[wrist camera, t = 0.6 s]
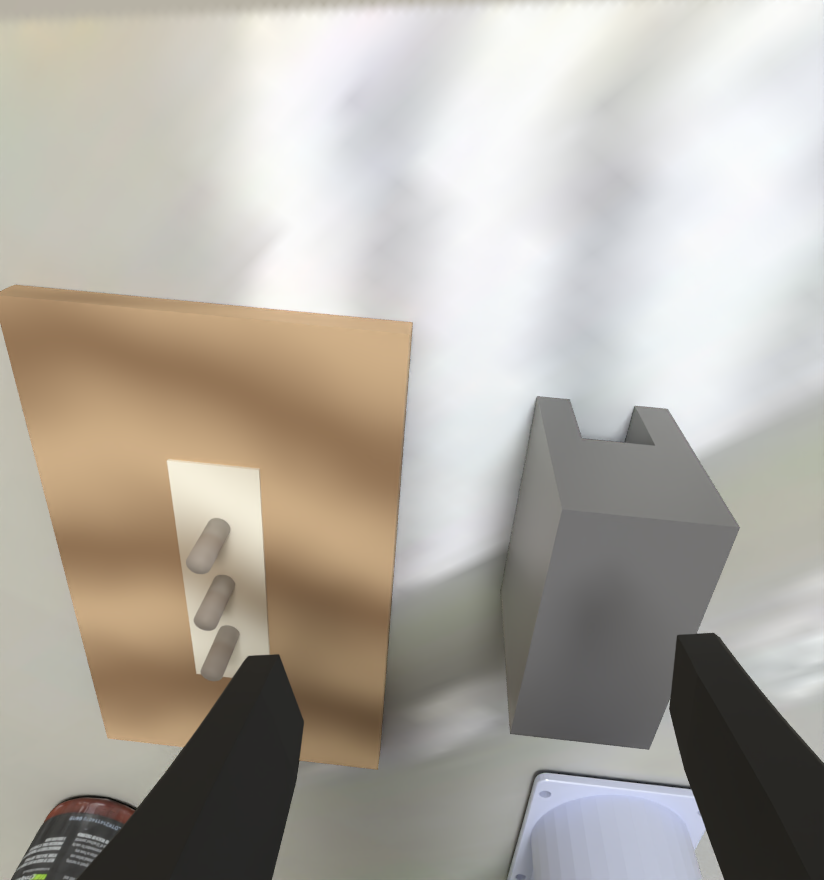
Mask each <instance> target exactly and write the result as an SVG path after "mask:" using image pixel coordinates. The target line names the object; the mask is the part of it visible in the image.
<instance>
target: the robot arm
mask: <svg viewBox="0 0 824 880" xmlns="http://www.w3.org/2000/svg"><path fill="white" fill-rule="evenodd" d="M669 710H670V714H671V718H672V722H673V726H674V730H675V735H676V739H677V743H678V747H679V750H680V754H681V758H682V762H683V766H684V770H685V773H686V775H687V778H688V781H689V784H690V787H691V789H684V788H676V787H667V786H658V785H650V784H641V783H632V782H623V781H615V780H606V779H597V778H589V777H580V776H571V775H563V774H554V773H541V774H539V775H537V776H536V778H535V781H534V784H533V788H532V791H531V795H530V799H529V802H528V806H527V810H526V813H525V817H524V820H523V824H522V828H521V831H520V835H519V838H518V842H517V846H516V849H515V853H514V856H513V860H512V864H511V867H510V871H509V874H508V878H507V880H703V878H702V875H701V871H700V868H699V864H698V861H697V858H696V854H695V849H696V847H697V845H698V843H699V841H700V840H701V838H702V836H703V834H704V832H705V830H706V831H707V834H708V836H709V839H710V842H711V845H712V847H713V850H714V853H715V855H716V858H717V861H718V864H719V866H720V869H721V872H722V875H723V877H724V880H824V763H823V762H822V761H821V760H820V759H819V757H818V756H817V755H816V754H815V753H814V752H813V751H812V750H811V748H810V747H809V746H808V745H807V744H806V743H805V742H804V740H803V739H802V738H801V737H800V736H799V735H798V734H797V733H796V731H795V730H794V729H793V728H792V727H791V726H790V725H789V724H788V722H787V721H786V720H785V719H784V718H783V717H782V715H781V714H780V713H779V712H778V711H777V709H776V708H775V707H774V706H773V705H772V703H771V702H770V701H769V700H768V699H767V697H766V696H765V695H764V694H763V692H762V691H761V690H760V689H759V688H758V686H757V685H756V684H755V683H754V681H753V680H752V679H751V678H750V676H749V675H748V674H747V673H746V671H745V670H744V669H743V668H742V666H741V665H740V664H739V662H738V661H737V660H736V659H735V657H734V656H733V655H732V653H731V652H730V651H729V649H728V648H727V647H726V645H725V644H724V643H723V641H722V640H721V639H720V637H718V636H717V635H716V634H714V633H703V634H683V635H677V640H676V650H675V659H674V669H673V678H672V688H671V698H670V707H669ZM303 727H304V720H303V717H302V715H301V712H300V709H299V706H298V704H297V701H296V698H295V696H294V693H293V690H292V688H291V685H290V682H289V680H288V677H287V674H286V671H285V669H284V666H283V663H282V661H281V658H280V655H279V654H274V655H253V656H248V657H247V658H246V659H245V660H244V661H243V663H242V664H241V666H240V667H239V669H238V670H237V672H236V673H235V675H234V676H233V678H232V679H231V680H230V682H229V683H228V685H227V686H226V688H225V689H224V691H223V692H222V694H221V695H220V697H219V698H218V700H217V701H216V703H215V704H214V705H213V707H212V708H211V710H210V711H209V713H208V714H207V716H206V717H205V718H204V720H203V721H202V723H201V724H200V726H199V727H198V728H197V730H196V731H195V733H194V734H193V735H192V737H191V738H190V739H189V741H188V742H187V744H186V745H185V746H184V748H183V749H182V750H181V752H180V753H179V755H178V756H177V757H176V759H175V760H174V762H173V763H172V764H171V766H170V767H169V768H168V770H167V771H166V772H165V774H164V775H163V776H162V777H161V779H160V780H159V781H158V782H157V784H156V785H155V786H154V788H153V789H152V790H151V791H150V793H149V794H148V795H147V796H146V798H145V799H144V800H143V802H142V803H141V804H140V805H139V807H138V808H137V809H136V810H135V812H134V813H133V814H132V815H131V817H130V818H129V819H128V820H127V822H126V823H125V824H124V825H123V826H122V828H121V829H120V830H119V831H118V832H117V833H116V835H115V836H114V837H113V838H112V839H111V841H110V842H109V843H108V844H107V845H106V846H105V848H104V849H103V850H102V851H101V852H100V853H99V854H98V855H97V857H96V858H95V859H94V860H93V861H92V862H91V863H90V864H89V866H88V867H87V868H86V869H85V870H84V871H83V872H82V873H81V874H80V876H79V877H78V878H77V879H76V880H272V877H273V873H274V869H275V865H276V861H277V857H278V853H279V849H280V845H281V841H282V837H283V833H284V829H285V825H286V821H287V817H288V813H289V808H290V804H291V800H292V796H293V792H294V788H295V783H296V779H297V773H298V766H299V759H300V752H301V744H302V735H303Z"/></svg>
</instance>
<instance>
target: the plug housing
mask: <svg viewBox="0 0 824 880" xmlns="http://www.w3.org/2000/svg"><path fill="white" fill-rule="evenodd" d="M739 528H740V527H739V525H738V524H737V522H736V520H735V519H734V517H733V515H732V514H731V512H730V511H729V509H728V507H727V506H726V504H725V502H724V501H723V499H722V497H721V496H720V494H719V492H718V491H717V489H716V488H715V486H714V484H713V483H712V481H711V479H710V478H709V476H708V474H707V473H706V471H705V469H704V468H703V466H702V465H701V463H700V461H699V460H698V458H697V456H696V455H695V453H694V451H693V450H692V448H691V446H690V445H689V443H688V442H687V440H686V438H685V437H684V435H683V433H682V432H681V430H680V428H679V427H678V425H677V423H676V422H675V420H674V419H673V417H672V415H671V414H670V412H669V410H668V409H663V408H653V407H642V406H635V407H634V411H633V415H632V418H631V422H630V425H629V429H628V433H627V436H626V440H625V443H623V442H613V441H603V440H592V439H582V437H581V433H580V430H579V427H578V424H577V421H576V418H575V415H574V412H573V408H572V405H571V402H570V399H560V398H550V397H540V396H537V400H536V405H535V410H534V416H533V421H532V426H531V432H530V437H529V442H528V448H527V453H526V458H525V464H524V469H523V474H522V480H521V485H520V490H519V496H518V501H517V506H516V512H515V517H514V522H513V528H512V533H511V538H510V544H509V549H508V554H507V560H506V565H505V570H504V576H503V581H502V586H501V603H502V619H503V634H504V649H505V665H506V680H507V695H508V711H509V726H510V734H516V735H524V736H533V737H542V738H551V739H560V740H569V741H577V742H586V743H595V744H604V745H613V746H621V747H630V748H639V749H648V750H649V749H650V746H651V744H652V741H653V739H654V736H655V734H656V731H657V729H658V727H659V724H660V722H661V719H662V717H663V714H664V712H665V709H666V707H667V705H668V702H669V700H670V697H671V688H672V678H673V669H674V659H675V650H676V640H677V635H683V634H697V631H698V629H699V626H700V624H701V621H702V619H703V616H704V614H705V612H706V609H707V607H708V604H709V602H710V599H711V597H712V594H713V592H714V590H715V587H716V585H717V582H718V580H719V577H720V575H721V572H722V570H723V568H724V565H725V563H726V560H727V558H728V555H729V553H730V550H731V548H732V546H733V543H734V541H735V538H736V536H737V533H738V531H739Z"/></svg>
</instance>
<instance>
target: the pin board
mask: <svg viewBox="0 0 824 880" xmlns="http://www.w3.org/2000/svg"><path fill="white" fill-rule="evenodd" d="M0 324H1V328H2V331H3V335H4V339H5V343H6V347H7V351H8V355H9V358H10V362H11V366H12V370H13V374H14V378H15V382H16V386H17V389H18V393H19V397H20V401H21V405H22V409H23V413H24V416H25V420H26V424H27V428H28V432H29V436H30V440H31V444H32V447H33V451H34V455H35V459H36V463H37V467H38V471H39V474H40V478H41V482H42V486H43V490H44V494H45V498H46V502H47V505H48V509H49V513H50V517H51V521H52V525H53V529H54V532H55V536H56V540H57V544H58V548H59V552H60V556H61V560H62V563H63V567H64V571H65V575H66V579H67V583H68V587H69V590H70V594H71V598H72V602H73V606H74V610H75V614H76V618H77V621H78V625H79V629H80V633H81V637H82V641H83V645H84V649H85V652H86V656H87V660H88V664H89V668H90V672H91V676H92V679H93V683H94V687H95V691H96V695H97V699H98V703H99V707H100V710H101V714H102V718H103V722H104V726H105V730H106V734H107V737H108V738H110V739H118V740H127V741H136V742H144V743H153V744H161V745H170V746H179V747H184V746H185V745H186V744H187V742H188V741H189V739H190V738H191V737H192V735H193V734H194V733H195V731H196V730H197V728H198V727H199V726H200V724H201V723H202V721H203V720H204V718H205V717H206V716H207V714H208V713H209V711H210V710H211V708H212V707H213V705H214V704H215V703H216V701H217V700H218V698H219V697H220V695H221V694H222V692H223V691H224V689H225V688H226V686H227V685H228V683H229V682H230V680H231V679H232V678H233V676H234V675H235V673H236V672H237V670H238V669H239V667H240V666H241V664H242V663H243V661H244V660H245V659H246V658H247V657H248V656H253V655H274V654H279V655H280V658H281V661H282V663H283V666H284V669H285V671H286V674H287V677H288V680H289V682H290V685H291V688H292V690H293V693H294V696H295V698H296V701H297V704H298V706H299V709H300V712H301V715H302V717H303V720H304V727H303V735H302V744H301V752H300V759H299V761H308V762H317V763H325V764H334V765H343V766H351V767H360V768H369V769H377V770H378V764H379V756H380V749H381V735H382V722H383V709H384V696H385V682H386V669H387V656H388V643H389V629H390V616H391V603H392V590H393V577H394V563H395V550H396V537H397V524H398V510H399V497H400V484H401V471H402V457H403V444H404V431H405V418H406V405H407V391H408V378H409V365H410V352H411V338H412V325H413V322H402V321H392V320H381V319H370V318H360V317H349V316H339V315H328V314H318V313H307V312H296V311H286V310H275V309H265V308H254V307H244V306H233V305H222V304H212V303H201V302H191V301H180V300H170V299H159V298H148V297H138V296H127V295H117V294H106V293H96V292H85V291H74V290H64V289H53V288H43V287H32V286H22V285H13V286H11V287H9V288H6V289H4V290H2V291H0Z"/></svg>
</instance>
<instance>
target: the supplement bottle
mask: <svg viewBox="0 0 824 880" xmlns="http://www.w3.org/2000/svg"><path fill="white" fill-rule="evenodd" d="M134 812H135V810H134V809H132V808H130V807H128V806H127V805H124V804H121V803H119V802H116V801H113V800H110V799H107V798H89V797H88V798H83V797H82V798H76V799H72V800H68V801H65V802H63V803H60V804H59V805H57V806H56V807H55V808H54V809H53V810H52V811H51V812H50V813H49V815H48V816H47V818H46V819H45V821H44V823H43V825H42V826H41V827H40V829H39V831H38V832H37V834H36V836H35V838H34V840H33V841H32V843H31V845H30V847H29V848H28V850H27V852H26V854H25V855H24V857H23V859H22V861H21V862H20V864H19V866H18V868H17V870H16V872H15V873H14V875H13V877H12V879H11V880H76V879H77V878H78V877H79V876H80V874H81V873H82V872H83V871H84V870H85V869H86V868H87V867H88V866H89V864H90V863H91V862H92V861H93V860H94V859H95V858H96V857H97V855H98V854H99V853H100V852H101V851H102V850H103V849H104V848H105V846H106V845H107V844H108V843H109V842H110V841H111V839H112V838H113V837H114V836H115V835H116V833H117V832H118V831H119V830H120V829H121V828H122V826H123V825H124V824H125V823H126V822H127V820H128V819H129V818H130V817H131V815H132V814H133V813H134Z"/></svg>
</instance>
